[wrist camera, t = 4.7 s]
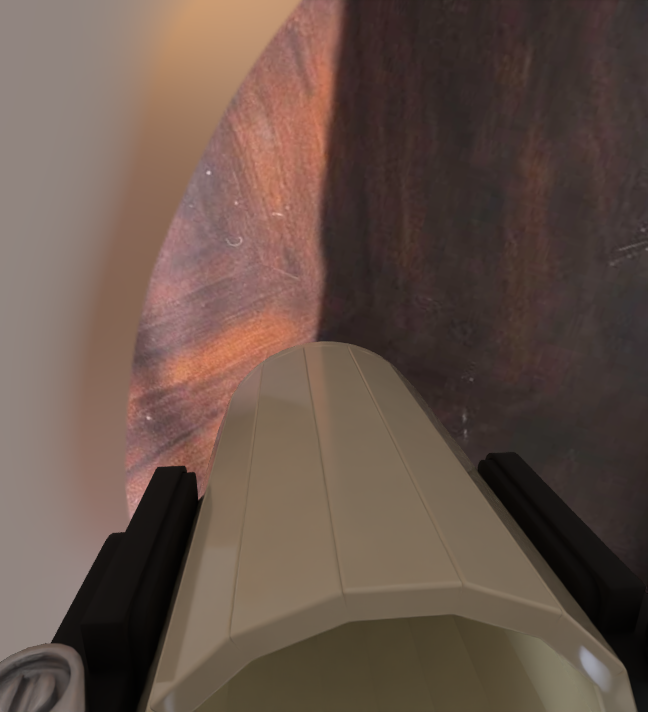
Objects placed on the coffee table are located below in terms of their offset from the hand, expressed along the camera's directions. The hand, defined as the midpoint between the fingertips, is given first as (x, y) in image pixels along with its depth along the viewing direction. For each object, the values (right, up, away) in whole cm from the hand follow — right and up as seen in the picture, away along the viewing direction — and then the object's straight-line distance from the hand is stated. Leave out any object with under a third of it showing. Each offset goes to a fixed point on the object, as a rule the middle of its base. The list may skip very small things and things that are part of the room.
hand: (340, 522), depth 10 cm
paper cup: (0, +1, +4) cm, 4 cm away
